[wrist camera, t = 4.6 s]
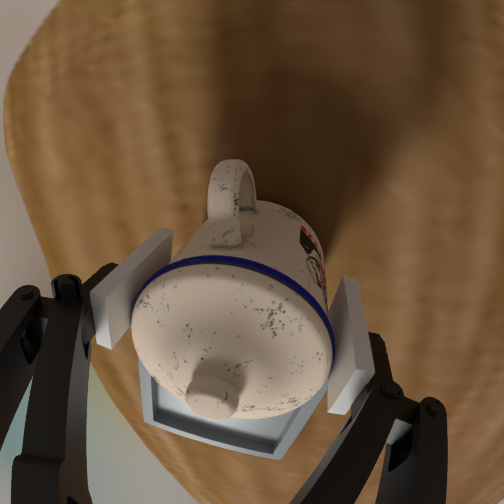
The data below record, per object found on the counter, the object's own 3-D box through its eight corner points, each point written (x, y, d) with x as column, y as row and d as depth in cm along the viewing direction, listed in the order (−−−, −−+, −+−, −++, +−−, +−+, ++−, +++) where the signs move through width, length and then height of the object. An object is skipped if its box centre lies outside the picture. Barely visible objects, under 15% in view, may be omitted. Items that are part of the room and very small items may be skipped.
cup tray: (146, 307, 25) (136, 321, 23) (334, 358, 24) (334, 375, 22) (150, 409, 32) (144, 422, 30) (281, 446, 31) (279, 460, 29)
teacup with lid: (323, 319, 22) (322, 468, 11) (201, 313, 23) (138, 441, 13) (329, 145, 16) (370, 202, 6) (178, 151, 18) (39, 212, 8)
